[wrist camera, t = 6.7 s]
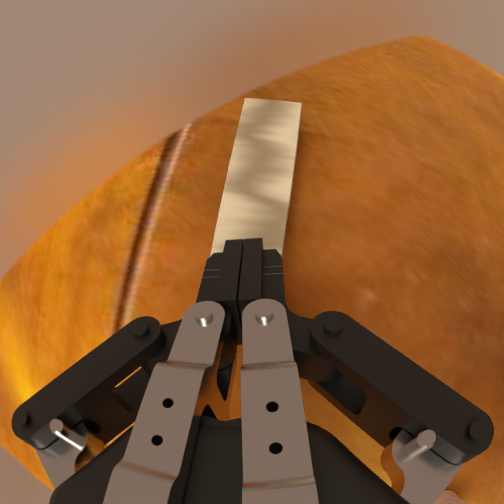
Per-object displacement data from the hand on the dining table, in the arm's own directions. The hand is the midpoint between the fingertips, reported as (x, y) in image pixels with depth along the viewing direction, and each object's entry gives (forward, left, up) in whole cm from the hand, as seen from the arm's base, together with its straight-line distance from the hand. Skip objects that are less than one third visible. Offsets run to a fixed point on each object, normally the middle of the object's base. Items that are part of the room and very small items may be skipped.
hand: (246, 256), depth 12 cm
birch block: (+3, +2, -11) cm, 11 cm away
